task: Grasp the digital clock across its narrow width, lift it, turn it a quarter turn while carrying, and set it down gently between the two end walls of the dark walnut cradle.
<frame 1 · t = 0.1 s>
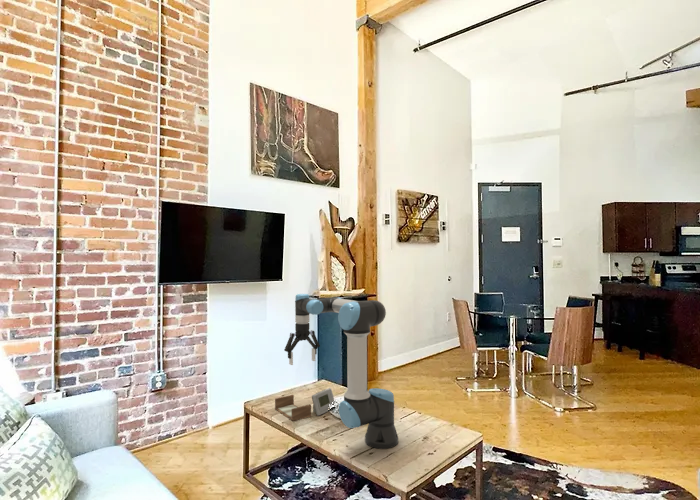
hand: (302, 362, 219), 28 cm above the table, fingers open, 13 cm apart
cradle: (292, 412, 222), on the table
digital clock: (324, 411, 224), on the table
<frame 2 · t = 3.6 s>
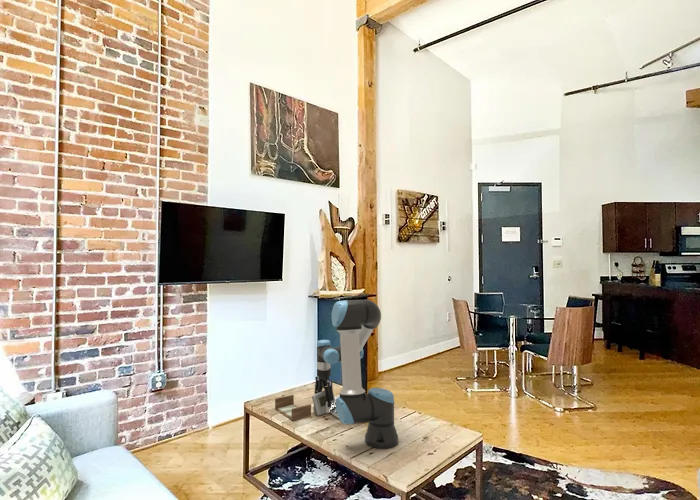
hand: (323, 410, 224), 0 cm above the table, fingers closed on digital clock, 8 cm apart
digital clock: (324, 411, 224), on the table, touching gripper
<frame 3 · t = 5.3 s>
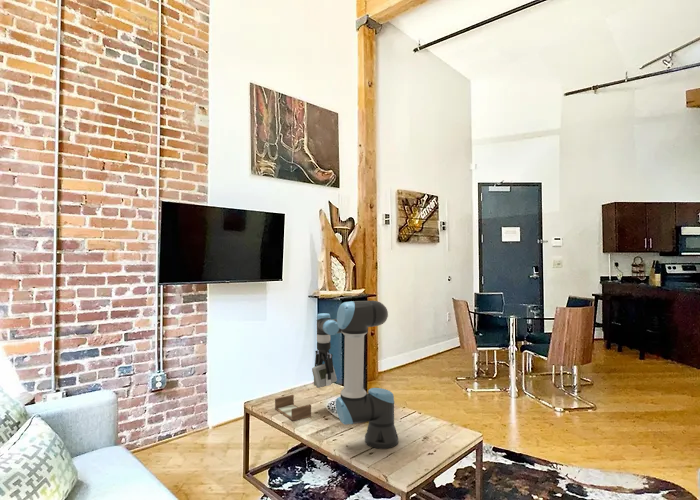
hand: (324, 383, 224), 15 cm above the table, fingers closed on digital clock, 8 cm apart
digital clock: (324, 384, 223), point 14 cm above the table, touching gripper
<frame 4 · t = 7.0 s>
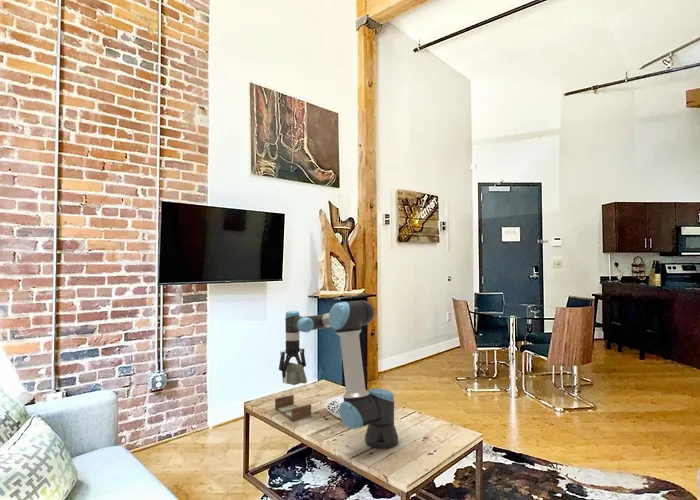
hand: (292, 381, 222), 17 cm above the table, fingers closed on digital clock, 8 cm apart
digital clock: (293, 382, 222), point 16 cm above the table, touching gripper
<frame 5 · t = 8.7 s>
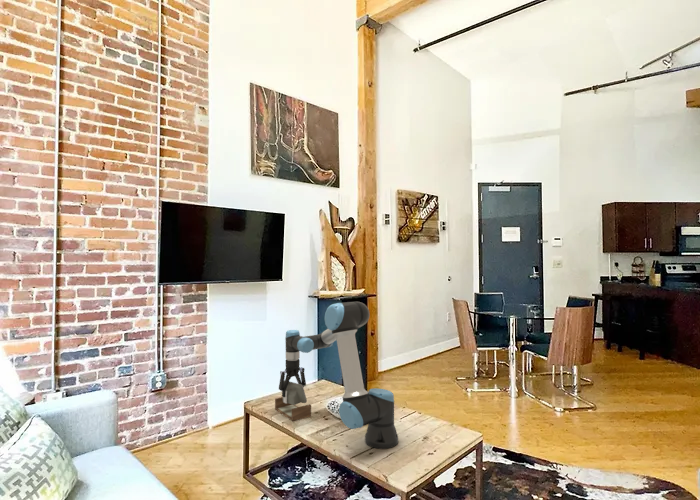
hand: (292, 400, 222), 6 cm above the table, fingers closed on digital clock, 8 cm apart
digital clock: (293, 401, 222), point 6 cm above the table, touching gripper
when the fingers open (3 cm above the table, at t = 10.3 s): digital clock drops 1 cm, resting on cradle.
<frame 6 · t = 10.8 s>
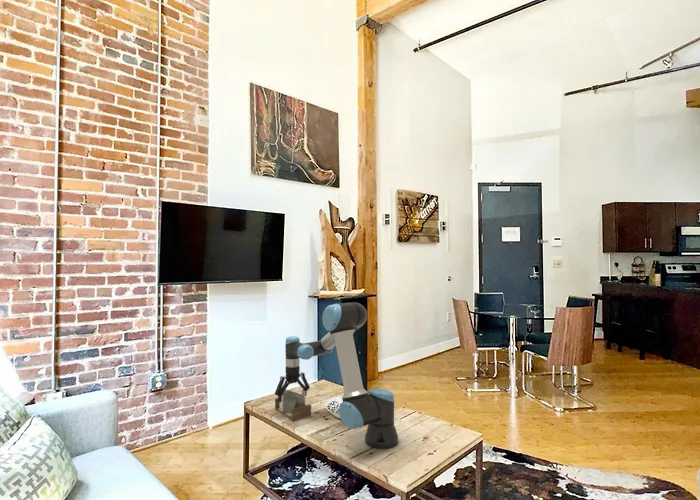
hand: (292, 405, 222), 4 cm above the table, fingers open, 13 cm apart
digital clock: (293, 411, 222), point 1 cm above the table, touching cradle
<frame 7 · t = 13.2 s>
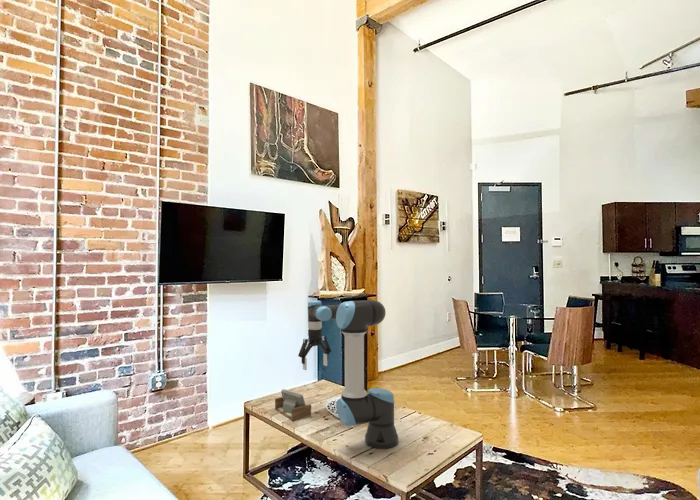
hand: (315, 367, 225), 24 cm above the table, fingers open, 13 cm apart
nothing on the table moved.
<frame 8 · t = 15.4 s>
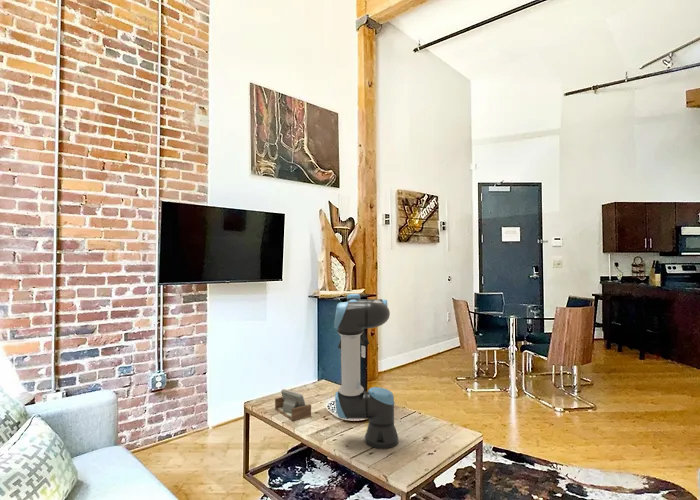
hand: (354, 359, 231), 27 cm above the table, fingers open, 13 cm apart
nothing on the table moved.
at the end: digital clock inside the target area on the cradle (0.8 cm from its centre), point 0.8 cm above the cradle's base; digital clock tilted 0°; the gripper is holding nothing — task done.
